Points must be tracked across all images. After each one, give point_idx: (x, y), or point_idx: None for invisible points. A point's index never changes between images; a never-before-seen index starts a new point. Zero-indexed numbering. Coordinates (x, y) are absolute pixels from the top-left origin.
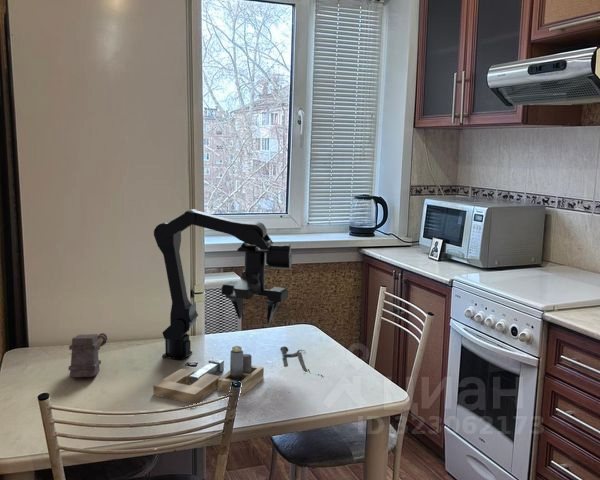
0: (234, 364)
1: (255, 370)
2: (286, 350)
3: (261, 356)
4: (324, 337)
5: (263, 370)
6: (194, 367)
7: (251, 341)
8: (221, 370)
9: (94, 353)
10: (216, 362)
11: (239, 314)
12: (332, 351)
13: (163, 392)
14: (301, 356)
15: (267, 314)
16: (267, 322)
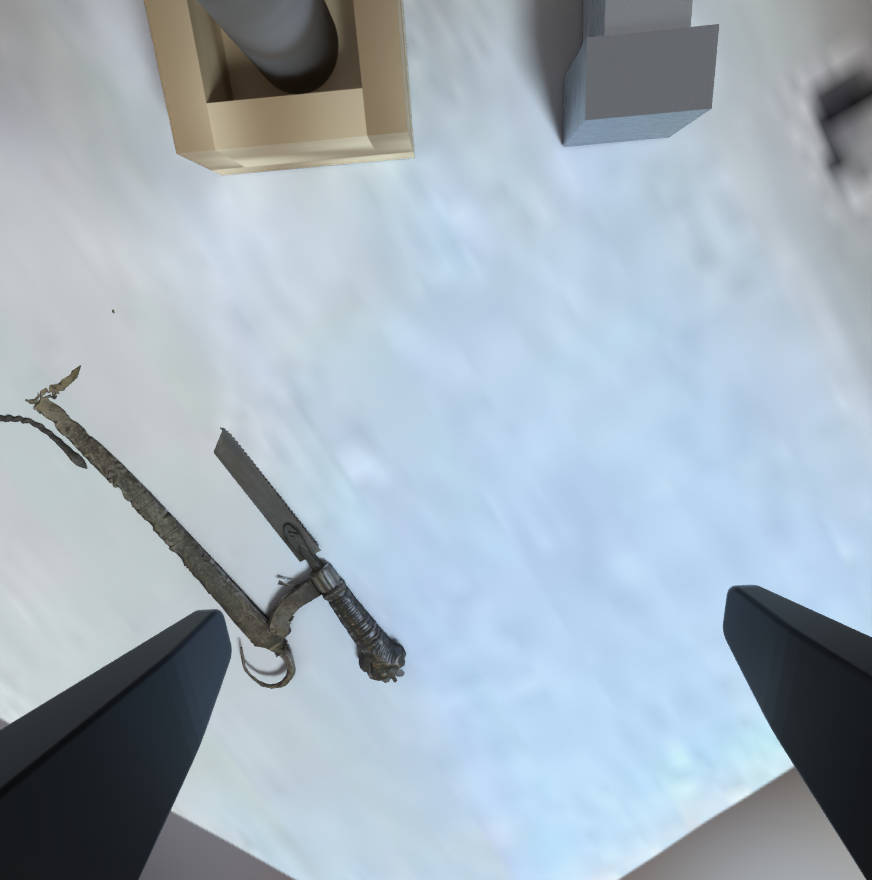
0: None
1: (186, 36)
2: (358, 648)
3: (452, 511)
4: (296, 874)
5: (190, 158)
6: (819, 65)
7: (634, 685)
8: (566, 100)
9: None
10: (627, 36)
11: (783, 632)
12: None
13: None
14: (225, 606)
15: (89, 713)
16: (214, 613)
